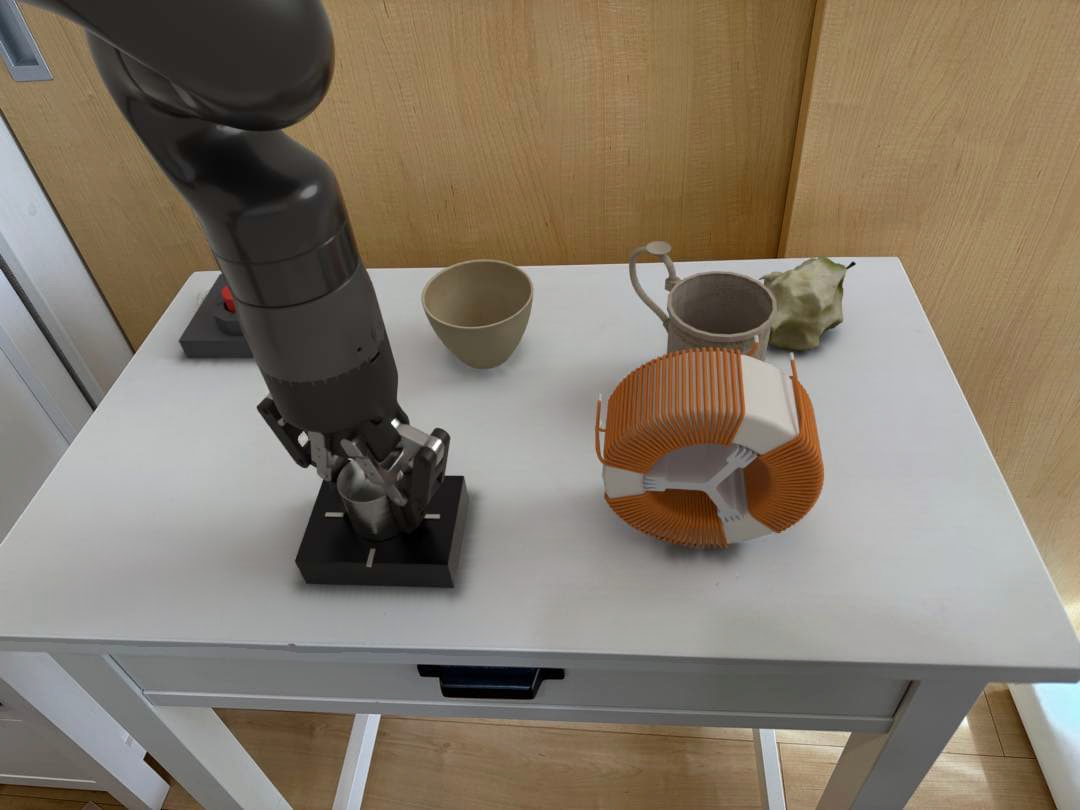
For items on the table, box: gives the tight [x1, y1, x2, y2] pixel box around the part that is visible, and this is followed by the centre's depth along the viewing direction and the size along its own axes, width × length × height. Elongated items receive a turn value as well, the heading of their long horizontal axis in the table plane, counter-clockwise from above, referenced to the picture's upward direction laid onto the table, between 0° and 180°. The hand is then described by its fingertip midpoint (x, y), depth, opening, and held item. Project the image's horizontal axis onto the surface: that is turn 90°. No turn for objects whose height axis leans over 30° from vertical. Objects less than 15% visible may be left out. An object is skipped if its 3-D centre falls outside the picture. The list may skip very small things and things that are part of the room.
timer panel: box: [294, 474, 470, 589], centre depth 57 cm, size 11×9×3 cm
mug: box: [628, 240, 777, 362], centre depth 64 cm, size 14×10×12 cm
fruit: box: [758, 254, 857, 352], centre depth 70 cm, size 9×9×8 cm
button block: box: [178, 273, 254, 358], centre depth 77 cm, size 11×10×4 cm
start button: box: [222, 285, 236, 313], centre depth 74 cm, size 4×4×2 cm
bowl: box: [421, 258, 534, 370], centre depth 70 cm, size 10×10×7 cm
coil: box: [594, 335, 825, 549], centre depth 53 cm, size 7×15×15 cm, turn 83°
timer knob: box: [337, 459, 403, 541], centre depth 54 cm, size 4×4×5 cm
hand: (383, 512), depth 56 cm, fingers closed on timer knob, 4 cm apart
